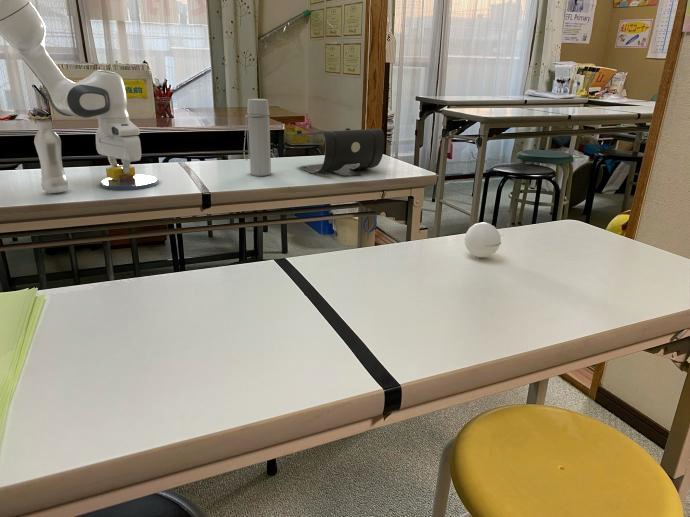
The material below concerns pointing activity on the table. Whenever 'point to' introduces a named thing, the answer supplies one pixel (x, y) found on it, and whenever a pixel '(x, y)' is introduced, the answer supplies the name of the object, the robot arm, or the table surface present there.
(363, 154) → the laptop stand
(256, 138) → the water bottle
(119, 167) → the sponge
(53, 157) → the plastic bottle
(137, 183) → the plate
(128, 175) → the crust
